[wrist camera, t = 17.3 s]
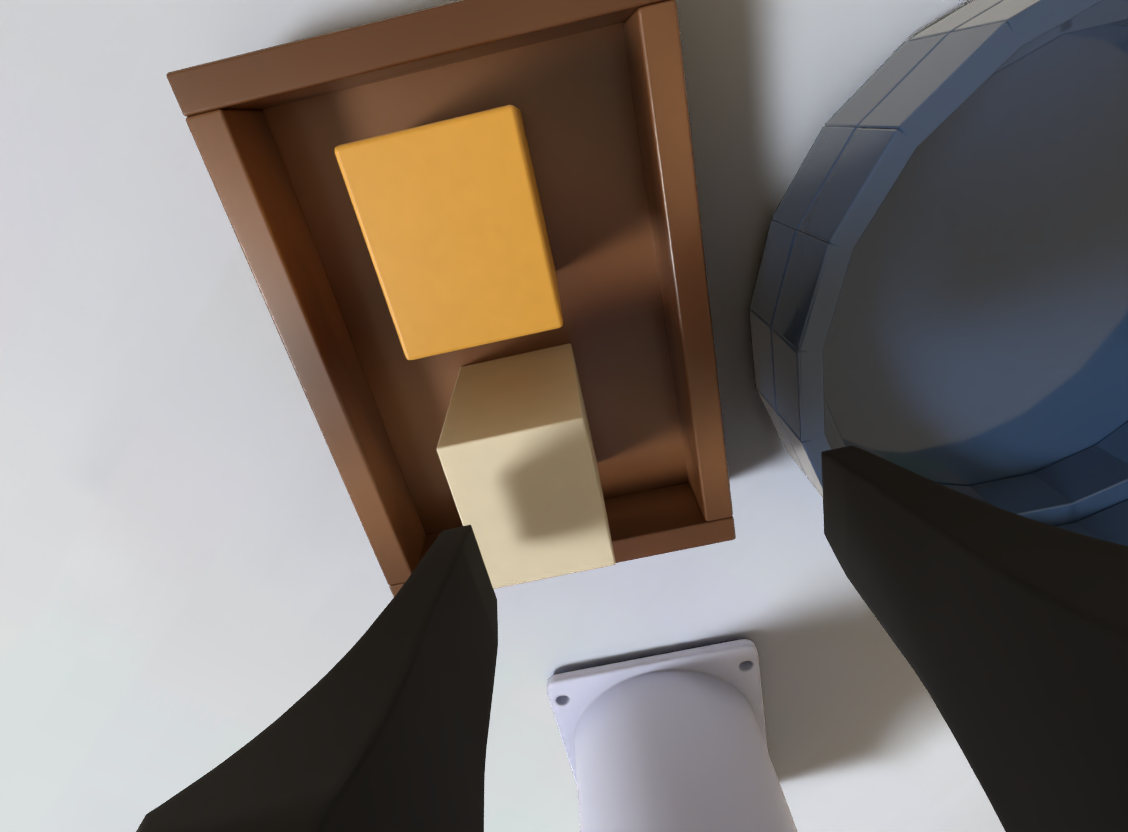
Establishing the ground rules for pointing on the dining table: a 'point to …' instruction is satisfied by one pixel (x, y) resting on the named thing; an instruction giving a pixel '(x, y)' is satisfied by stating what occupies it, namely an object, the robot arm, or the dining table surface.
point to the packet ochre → (455, 231)
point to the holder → (574, 225)
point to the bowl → (966, 267)
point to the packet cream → (526, 467)
